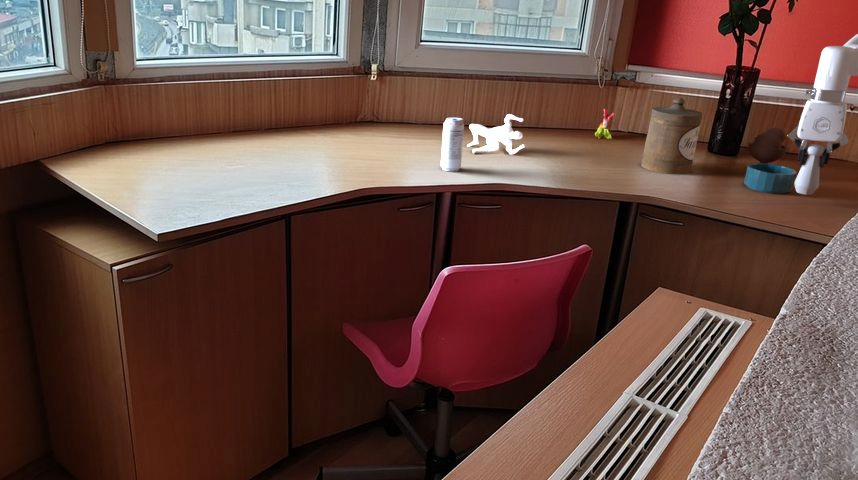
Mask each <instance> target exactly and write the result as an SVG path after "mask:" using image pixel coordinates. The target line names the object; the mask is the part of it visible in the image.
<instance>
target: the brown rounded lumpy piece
mask: <svg viewBox="0 0 858 480" xmlns="http://www.w3.org/2000/svg"><path fill="white" fill-rule="evenodd" d="M786 139H787V135H786V132H785V130H784V129H783V128H781V127H777V126H773V127H770V128H767V130H765V131H764V132H762V133H760V134H758V135H757V136H755V137H754V139H753V140H751V141H749V142H748V143H747V150H748V152H749V154H750V156H751V157H752V158H753V159H755V160H756V161H758V163H764V164H771V163H774V162H776V161H778V160H779V159H781V158H782V157H783V156H784V155H785V154H786V153H787V150H788V148H789V146H786V145H784V144H783V143H784V142H785V141H786Z"/></svg>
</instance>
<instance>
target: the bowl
mask: <svg viewBox="0 0 858 480" xmlns="http://www.w3.org/2000/svg"><path fill="white" fill-rule="evenodd" d="M796 178H797V170H795V169H793V168H790V167H787V166H784V165H780V164H779V165H778V164H772V163H768V164H764V163H760V162H758V163H757V162H755V163H749V164H748V165H747V168H746V173H745V177H744V181H743V184H744V185H745V186H746V187H747V188H749V189H750V190H754V191H757V192H760V193H767V194H774V195H781V194H788V193H789V192H792V191H793V188H794V186H795V180H796Z"/></svg>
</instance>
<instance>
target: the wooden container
mask: <svg viewBox="0 0 858 480" xmlns="http://www.w3.org/2000/svg"><path fill="white" fill-rule="evenodd" d="M672 103H673V104H672V105H671V106H655V107H653V108H652V109H651V113H650V115H651V116H650V120H649V125H648V130H647V133H646V139H645V142H644V147H643V149H644V150H643V154H642V159H641V164H640V165H641V166H640V167H642V168H644V169H645V170H647V171H652V172H656V173H659V174H667V175H668V174H669V175H687V174H690V173H691V171H692V167H693V162H694V158H695V155H696V154H695V153H696V149H697V144H698V139H699V132H700V127H701V123H702V119H703V112H702V111H699V110H695V109H690V108H686V107H685V105H684V104H685V99H684V98H682V97H676V98H674V99H673V100H672Z"/></svg>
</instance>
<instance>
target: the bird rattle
mask: <svg viewBox="0 0 858 480" xmlns="http://www.w3.org/2000/svg"><path fill="white" fill-rule="evenodd" d="M609 111H610V110H609V109H606V108H603V117H604V118H603V121H602V122H601V123H600V124H599V126H598V128H597V131H596V132H595V133H594V136H595V137H597V139H598V140H600V139H601V138H602V137H604V138H605V139H606V140H611V139H613V136H612V134H611V132H610V131H609V129H610V124H609V122H610V121H611V118H612V117H614V116H615V115H616V113H614V112H612V113H609Z"/></svg>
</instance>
